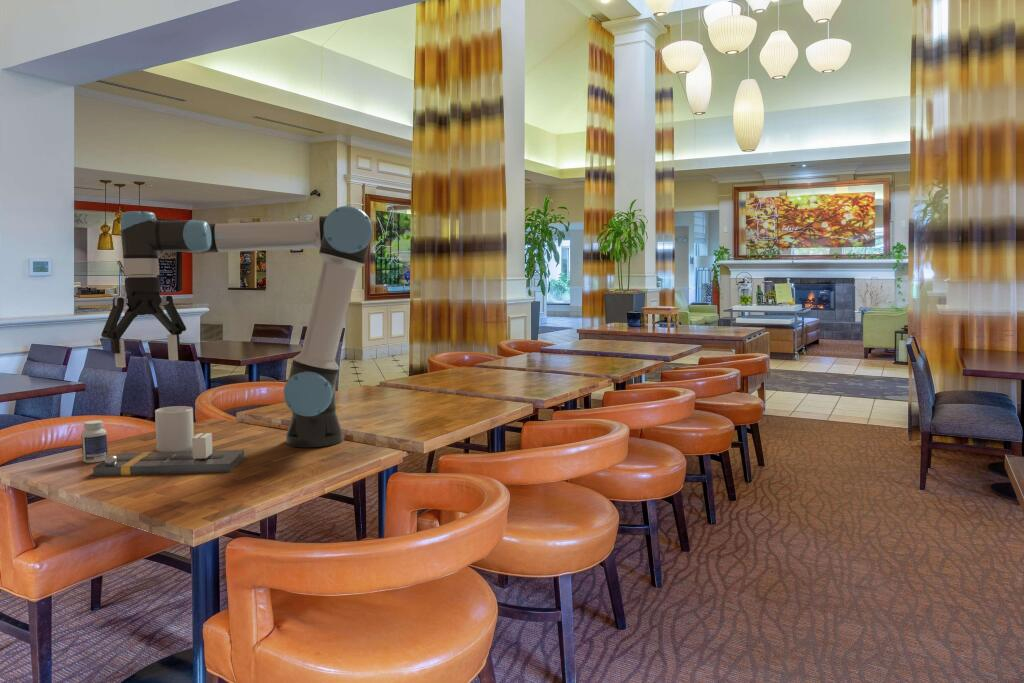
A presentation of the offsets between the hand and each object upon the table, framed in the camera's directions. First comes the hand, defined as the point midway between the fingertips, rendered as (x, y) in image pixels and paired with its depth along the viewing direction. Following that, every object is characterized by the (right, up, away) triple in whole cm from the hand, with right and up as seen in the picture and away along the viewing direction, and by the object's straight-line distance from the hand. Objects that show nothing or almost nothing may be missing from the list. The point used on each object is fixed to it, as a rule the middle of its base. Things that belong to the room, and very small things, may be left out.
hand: (148, 363), depth 168 cm
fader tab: (+14, -22, -2) cm, 26 cm away
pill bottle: (-15, -24, +3) cm, 29 cm away
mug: (0, -23, +14) cm, 27 cm away
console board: (+7, -25, -2) cm, 26 cm away
